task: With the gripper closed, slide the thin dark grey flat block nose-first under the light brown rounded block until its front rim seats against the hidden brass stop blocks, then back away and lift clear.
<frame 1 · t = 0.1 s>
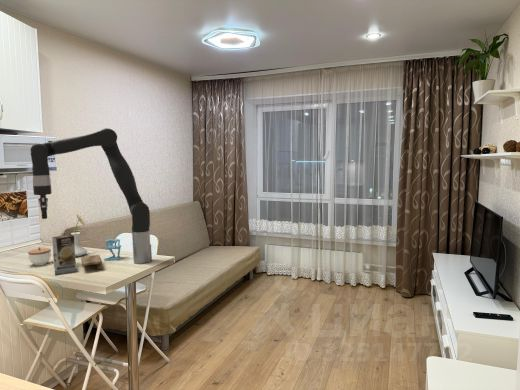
hand: (44, 217, 178), 29 cm above the table, fingers open, 8 cm apart
chair: (114, 258, 210), on the table
dark grey flat block: (66, 271, 187), on the table
flower in vase: (78, 255, 220), on the table
light brown rounded block: (91, 267, 193), on the table
lidded jar: (40, 264, 202), on the table
coffee box: (65, 265, 199), on the table
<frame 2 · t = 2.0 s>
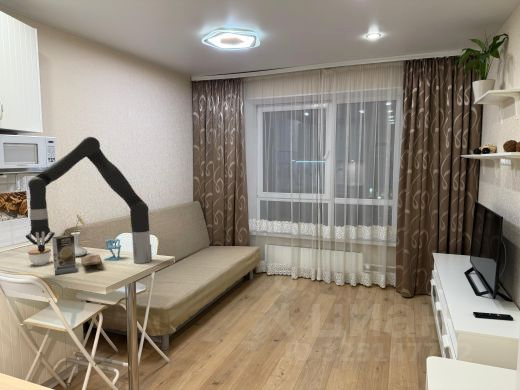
hand: (41, 252, 181), 11 cm above the table, fingers closed
nothing on the table moved.
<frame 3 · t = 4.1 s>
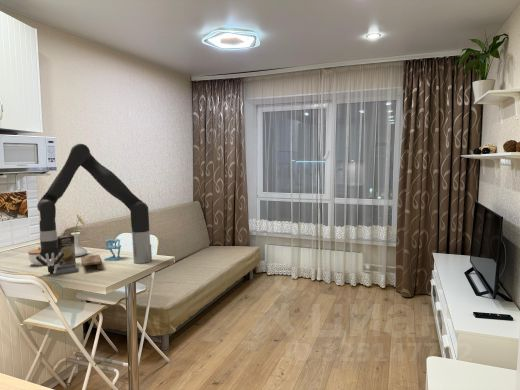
hand: (51, 272, 184), 0 cm above the table, fingers closed
dark grey flat block: (66, 271, 187), on the table, touching gripper
everything else where it was.
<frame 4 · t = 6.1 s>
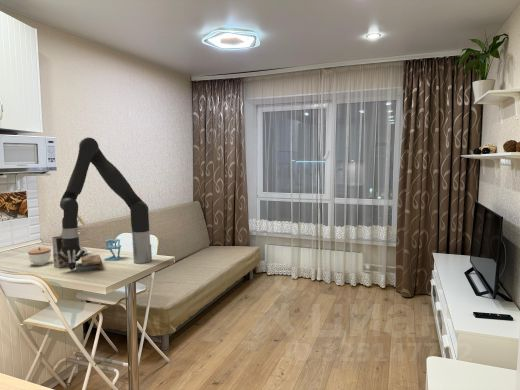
hand: (72, 269, 188), 1 cm above the table, fingers closed
dark grey flat block: (86, 268, 191), on the table, touching gripper, light brown rounded block
everything else where it was.
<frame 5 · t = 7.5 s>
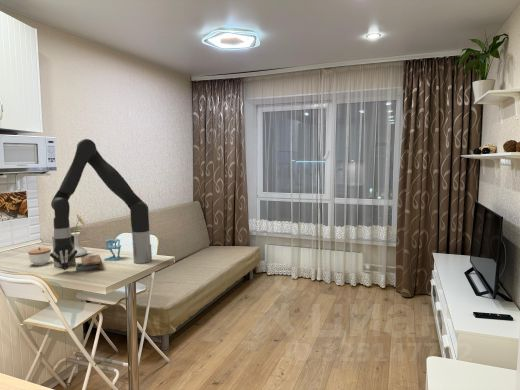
hand: (65, 269, 186), 1 cm above the table, fingers closed
dark grey flat block: (86, 268, 191), on the table
everything else where it was.
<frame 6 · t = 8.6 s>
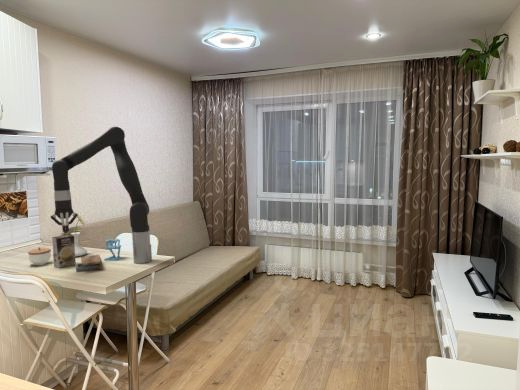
hand: (65, 232, 187), 20 cm above the table, fingers closed
nothing on the table moved.
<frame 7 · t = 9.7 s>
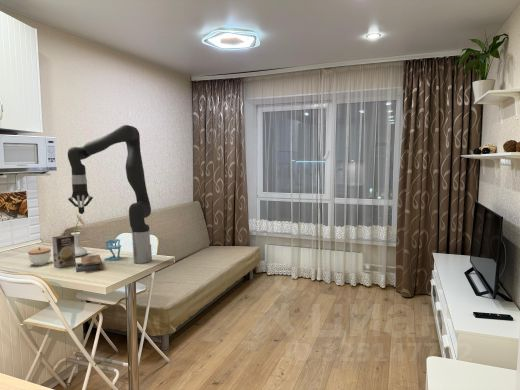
hand: (81, 213, 204), 27 cm above the table, fingers closed
nothing on the table moved.
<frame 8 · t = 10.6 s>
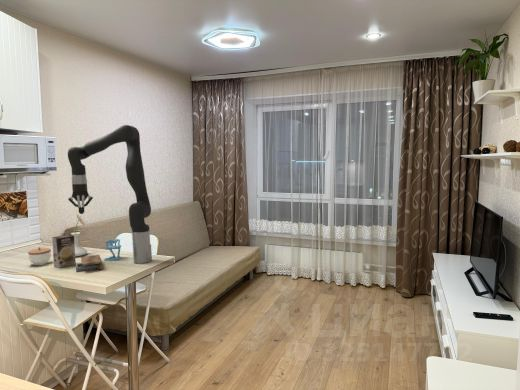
hand: (81, 213, 204), 27 cm above the table, fingers closed
nothing on the table moved.
at the end: dark grey flat block 0.0 cm from the target spot, on the table; dark grey flat block tilted 0°; dark grey flat block moved 9.5 cm from its start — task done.
